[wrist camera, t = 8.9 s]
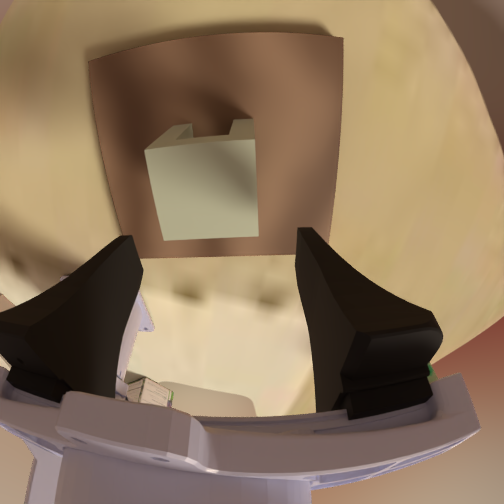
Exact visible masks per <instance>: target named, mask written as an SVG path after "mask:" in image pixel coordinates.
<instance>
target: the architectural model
mask: <svg viewBox="0 0 504 504" xmlns="http://www.w3.org/2000/svg"><path fill="white" fill-rule="evenodd" d="M13 307H15V305H14V304H13V303H12V302H10V301H9V300H8V299H7V298H6V297H5V296H4V295H3V294H2V295H1V296H0V312H3V311H5V310H8V309H10V308H13Z"/></svg>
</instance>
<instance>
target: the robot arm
mask: <svg viewBox="0 0 504 504" xmlns="http://www.w3.org/2000/svg"><path fill="white" fill-rule="evenodd" d="M295 270H296V278H297V286H298V290H299V294H300V298H301V302H302V306H303V310H304V314H305V318H306V322H307V326H308V331H309V336H310V343H311V352H312V361H313V371H314V384H315V399H316V413H311V414H300V415H287V416H270V417H207V416H191V415H190V414H188V413H185V412H182V411H179V410H176V409H174V408H170V407H165V406H160V405H155V404H148V403H140V402H133V399H132V398H131V397H130V396H129V395H126V394H127V390H128V386H129V385H128V384H126V383H124V378H125V374H126V371H127V367H128V363H129V360H130V356H131V353H132V350H133V346H134V343H135V340H136V336H137V333H138V331H147V332H152V331H154V325H153V323H152V320H151V318H150V315H149V313H148V311H147V308H146V306H145V303H144V301H143V298H142V295H141V293H140V290H139V289H140V285H141V280H142V276H143V271H144V270H143V267H142V264H141V261H140V258H139V255H138V252H137V249H136V246H135V243H134V239H133V236H132V235H123V236H119V237H118V238H116V239H115V240H113V241H112V242H111V243H109V244H108V245H107V246H105V247H104V248H103V249H102V250H101V251H99V252H98V253H97V254H96V255H94V256H93V257H92V258H91V259H90V260H88V261H87V262H86V263H85V264H83V265H82V266H81V267H79V268H78V269H77V270H76V271H74V272H73V273H72V274H70V275H69V276H61V278H60V281H61V282H59V283H58V284H56V285H55V286H53V287H51V288H50V289H48V290H46V291H45V292H43V293H41V294H40V295H38V296H36V297H34V298H32V299H30V300H28V301H26V302H24V303H22V304H20V305H18V306H15V307H13V308H10V309H8V310H5V311H3V312H0V354H1V355H2V356H3V357H4V358H5V359H6V360H7V362H8V363H9V364H11V366H12V367H11V369H10V371H8V370H7V369H6V368H4V367H1V366H0V426H1V427H2V428H4V429H5V430H7V431H8V432H10V433H12V434H14V435H15V436H17V437H19V438H21V439H23V441H24V442H25V444H26V445H27V447H28V448H29V450H30V451H31V453H32V454H33V456H34V459H33V463H32V467H31V472H30V476H29V481H28V486H27V491H26V496H25V502H24V504H312V500H311V490H316V489H322V488H328V487H334V486H339V485H344V484H348V483H353V482H357V481H361V480H365V479H369V478H373V477H376V476H380V475H383V474H386V473H390V472H393V471H396V470H399V469H402V468H405V467H408V466H411V465H414V464H416V463H419V462H422V461H424V460H427V459H429V458H432V457H435V456H437V455H439V454H442V453H444V452H446V451H448V450H450V449H451V448H453V447H455V446H456V445H458V444H460V443H461V442H463V441H464V440H466V439H468V438H469V437H471V436H472V435H474V434H475V433H477V432H478V431H479V430H480V429H481V427H480V424H479V420H478V418H477V414H476V412H475V409H474V406H473V403H472V400H471V397H470V395H469V392H468V389H467V387H466V384H465V382H464V379H463V377H462V374H461V373H456V374H453V375H450V376H447V377H443V378H440V379H437V380H435V381H433V382H432V383H430V384H429V381H428V378H427V376H429V375H430V370H429V368H428V365H427V364H428V363H429V362H430V360H431V359H432V358H433V356H434V355H435V353H436V352H437V351H438V349H439V347H440V345H441V343H442V340H443V333H442V331H441V329H440V326H439V324H438V322H437V321H436V319H435V317H434V315H433V313H432V312H431V311H429V310H426V309H424V308H422V307H419V306H417V305H414V304H412V303H409V302H407V301H405V300H403V299H401V298H399V297H397V296H395V295H394V294H392V293H390V292H388V291H386V290H385V289H383V288H381V287H380V286H378V285H377V284H375V283H373V282H372V281H371V280H369V279H368V278H366V277H365V276H364V275H362V274H361V273H359V272H358V271H357V270H356V269H354V268H353V267H352V266H351V265H350V264H348V263H347V262H346V261H345V260H344V259H343V258H342V257H341V256H339V255H338V254H337V253H336V252H335V251H334V250H333V249H332V248H331V247H330V246H329V245H328V244H327V243H326V242H325V240H324V239H323V238H322V237H321V236H320V235H319V234H318V233H317V232H316V231H315V230H314V229H313V228H312V227H297V243H296V259H295Z"/></svg>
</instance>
